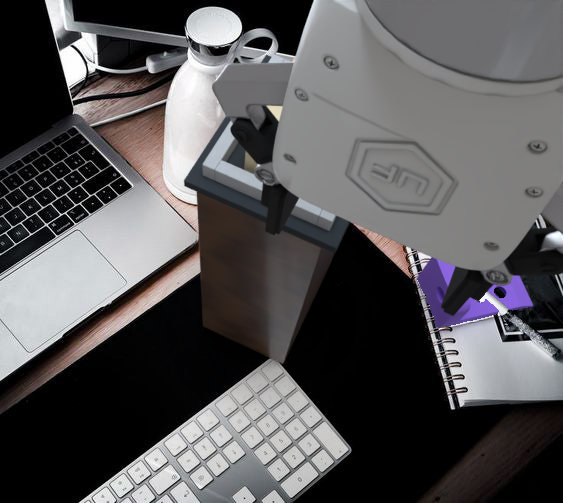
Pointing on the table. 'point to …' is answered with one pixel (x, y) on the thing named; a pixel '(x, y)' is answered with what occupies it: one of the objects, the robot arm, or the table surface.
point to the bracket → (435, 287)
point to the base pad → (256, 188)
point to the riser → (255, 278)
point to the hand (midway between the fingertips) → (367, 250)
